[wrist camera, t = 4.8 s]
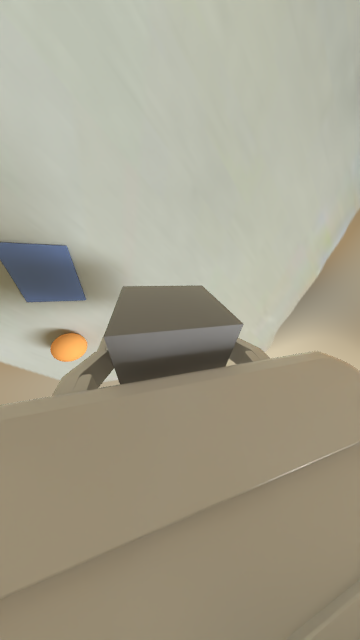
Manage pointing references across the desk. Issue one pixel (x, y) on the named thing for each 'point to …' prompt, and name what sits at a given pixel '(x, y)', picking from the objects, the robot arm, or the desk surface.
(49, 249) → the tape mark
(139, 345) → the block
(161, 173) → the desk surface
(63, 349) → the orange egg
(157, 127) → the desk surface
